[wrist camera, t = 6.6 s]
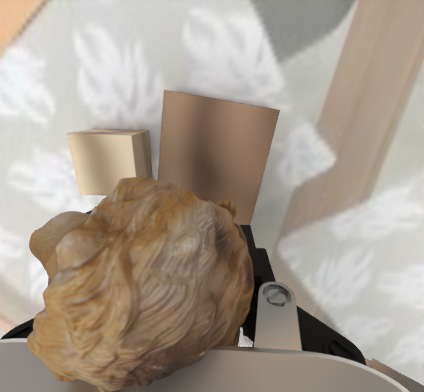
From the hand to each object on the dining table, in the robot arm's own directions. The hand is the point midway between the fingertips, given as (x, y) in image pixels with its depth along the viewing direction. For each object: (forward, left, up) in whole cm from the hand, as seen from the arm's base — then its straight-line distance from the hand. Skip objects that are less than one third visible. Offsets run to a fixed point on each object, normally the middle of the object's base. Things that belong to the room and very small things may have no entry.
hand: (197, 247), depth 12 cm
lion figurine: (0, +1, -1) cm, 2 cm away
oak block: (+10, -2, -15) cm, 18 cm away
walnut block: (0, 0, -15) cm, 15 cm away
